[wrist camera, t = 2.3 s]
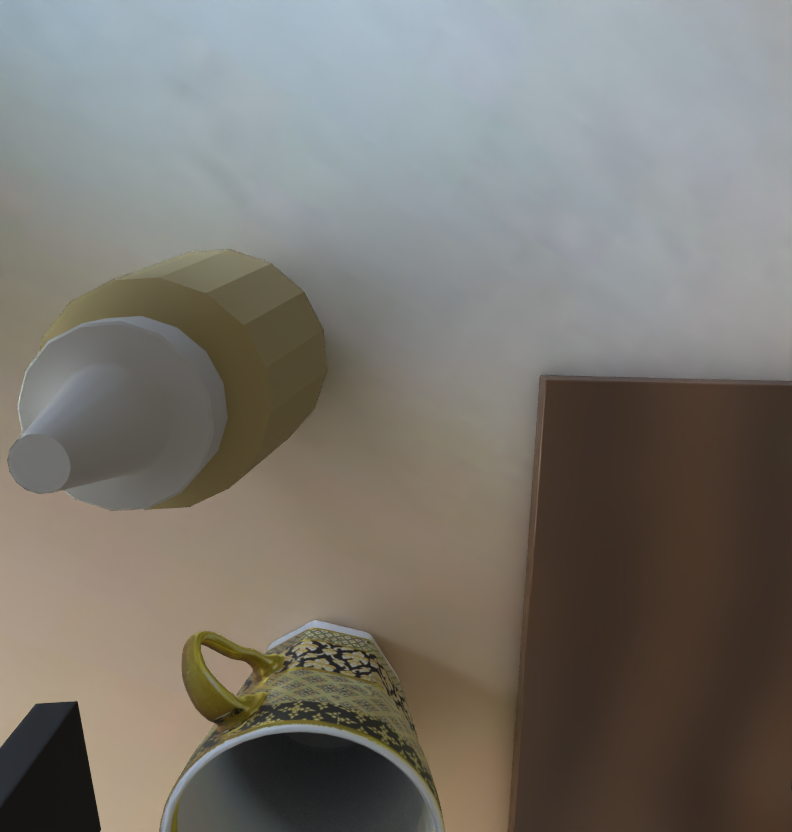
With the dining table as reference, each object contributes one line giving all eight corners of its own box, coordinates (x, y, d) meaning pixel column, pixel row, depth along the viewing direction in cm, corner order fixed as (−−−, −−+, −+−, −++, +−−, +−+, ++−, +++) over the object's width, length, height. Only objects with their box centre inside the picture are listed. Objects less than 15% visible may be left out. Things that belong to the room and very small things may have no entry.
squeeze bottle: (253, 209, 29) (46, 139, 12) (372, 362, 31) (345, 502, 13) (109, 327, 30) (-276, 424, 13) (230, 470, 32) (32, 732, 14)
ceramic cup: (468, 714, 35) (497, 893, 25) (295, 803, 36) (258, 1008, 26) (329, 497, 32) (302, 602, 22) (148, 599, 33) (47, 741, 24)
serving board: (507, 837, 36) (510, 856, 35) (539, 374, 31) (545, 379, 30) (894, 844, 36) (911, 864, 35) (992, 385, 31) (1015, 390, 30)
